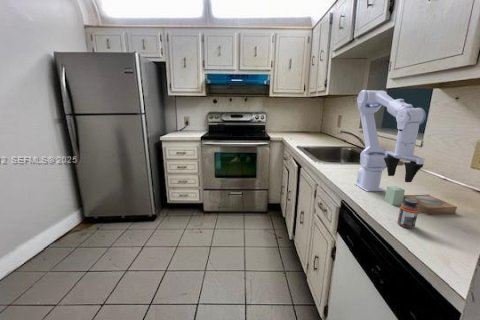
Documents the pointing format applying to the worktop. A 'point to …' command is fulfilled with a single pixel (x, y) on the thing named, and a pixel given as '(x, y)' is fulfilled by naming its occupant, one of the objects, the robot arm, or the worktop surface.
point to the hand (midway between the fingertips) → (399, 178)
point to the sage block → (394, 195)
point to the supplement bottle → (408, 213)
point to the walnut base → (431, 204)
